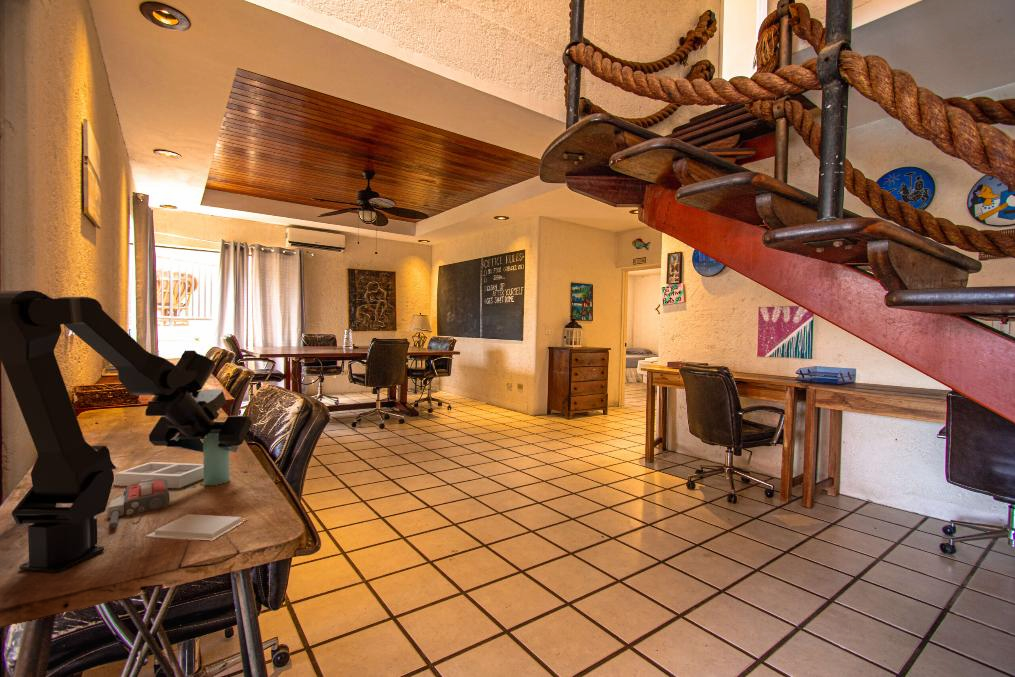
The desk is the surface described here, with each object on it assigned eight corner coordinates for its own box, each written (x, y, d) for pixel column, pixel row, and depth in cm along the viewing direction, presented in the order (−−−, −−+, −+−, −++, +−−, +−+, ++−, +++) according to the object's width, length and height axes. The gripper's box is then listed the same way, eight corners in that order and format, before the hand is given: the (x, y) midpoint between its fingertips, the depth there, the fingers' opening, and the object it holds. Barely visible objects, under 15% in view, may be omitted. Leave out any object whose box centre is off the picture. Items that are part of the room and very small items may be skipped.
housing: (178, 488, 94) (178, 476, 94) (113, 485, 96) (113, 473, 96) (212, 474, 103) (212, 463, 103) (151, 472, 105) (151, 461, 105)
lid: (248, 523, 78) (248, 515, 78) (212, 545, 70) (212, 536, 70) (187, 519, 80) (187, 512, 80) (145, 540, 72) (145, 532, 72)
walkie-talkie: (112, 500, 89) (104, 536, 73) (111, 478, 88) (103, 509, 73) (167, 490, 94) (171, 521, 78) (167, 469, 94) (170, 496, 78)
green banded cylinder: (218, 486, 95) (217, 426, 95) (197, 485, 96) (196, 425, 95) (235, 478, 100) (234, 421, 100) (215, 478, 100) (214, 420, 100)
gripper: (246, 378, 93) (275, 419, 104) (158, 378, 93) (196, 420, 105) (222, 423, 85) (256, 463, 97) (126, 423, 86) (171, 463, 97)
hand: (220, 450), depth 99 cm, fingers open, 7 cm apart
